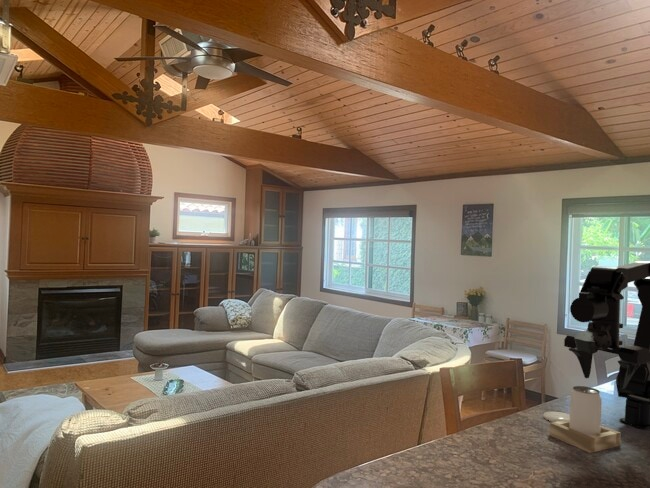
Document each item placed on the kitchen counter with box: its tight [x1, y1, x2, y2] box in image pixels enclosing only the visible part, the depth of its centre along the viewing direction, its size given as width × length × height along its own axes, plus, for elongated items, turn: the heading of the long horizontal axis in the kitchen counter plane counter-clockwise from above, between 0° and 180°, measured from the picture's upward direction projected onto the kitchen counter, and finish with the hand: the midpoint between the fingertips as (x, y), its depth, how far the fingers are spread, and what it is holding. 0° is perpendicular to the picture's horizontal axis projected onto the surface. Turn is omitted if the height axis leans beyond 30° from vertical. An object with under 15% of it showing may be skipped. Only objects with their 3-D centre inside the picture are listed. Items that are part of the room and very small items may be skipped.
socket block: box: [549, 419, 622, 454], centre depth 116 cm, size 10×10×3 cm
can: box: [569, 385, 602, 436], centre depth 116 cm, size 6×6×12 cm
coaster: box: [543, 411, 570, 423], centre depth 130 cm, size 8×8×1 cm
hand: (604, 383), depth 119 cm, fingers open, 9 cm apart
